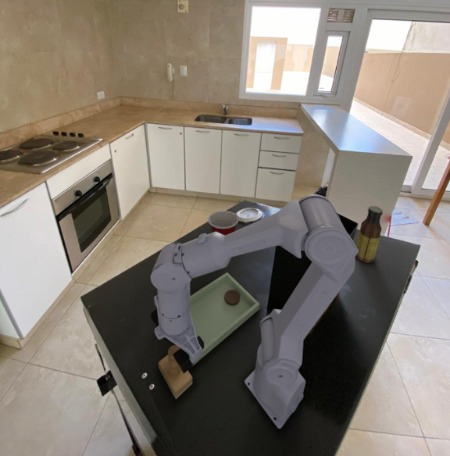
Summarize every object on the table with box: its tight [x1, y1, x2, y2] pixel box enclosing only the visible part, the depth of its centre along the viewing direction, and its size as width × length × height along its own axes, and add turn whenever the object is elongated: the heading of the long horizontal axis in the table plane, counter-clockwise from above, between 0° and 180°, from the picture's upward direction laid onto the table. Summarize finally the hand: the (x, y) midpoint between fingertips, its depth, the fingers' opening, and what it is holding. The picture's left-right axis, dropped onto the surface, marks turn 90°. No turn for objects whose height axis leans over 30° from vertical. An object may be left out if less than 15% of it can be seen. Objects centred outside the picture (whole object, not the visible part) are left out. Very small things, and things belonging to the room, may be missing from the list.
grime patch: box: [225, 290, 240, 305], centre depth 71 cm, size 4×4×1 cm
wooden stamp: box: [158, 344, 193, 400], centre depth 52 cm, size 7×4×8 cm, turn 41°
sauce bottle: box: [355, 205, 383, 264], centre depth 86 cm, size 6×6×20 cm
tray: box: [190, 272, 261, 366], centre depth 67 cm, size 14×22×2 cm, turn 130°
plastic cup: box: [207, 210, 240, 236], centre depth 90 cm, size 11×11×12 cm
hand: (177, 351), depth 51 cm, fingers open, 7 cm apart
